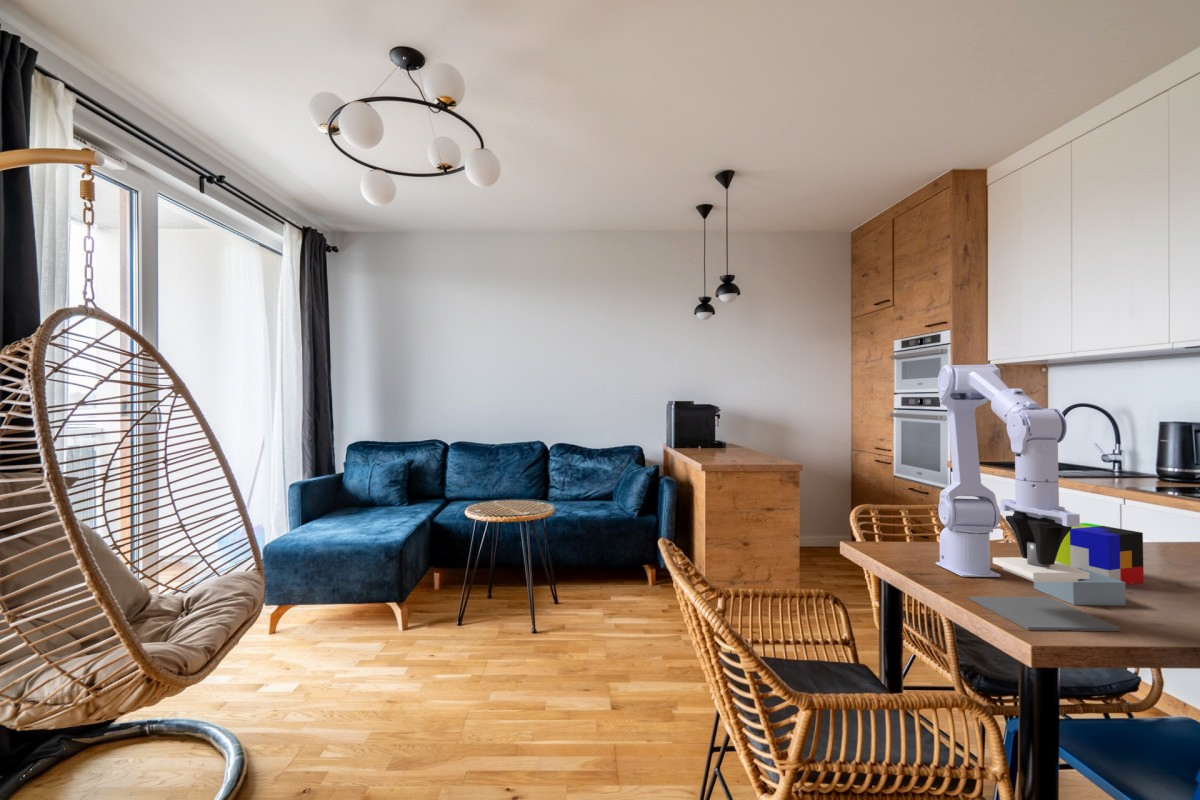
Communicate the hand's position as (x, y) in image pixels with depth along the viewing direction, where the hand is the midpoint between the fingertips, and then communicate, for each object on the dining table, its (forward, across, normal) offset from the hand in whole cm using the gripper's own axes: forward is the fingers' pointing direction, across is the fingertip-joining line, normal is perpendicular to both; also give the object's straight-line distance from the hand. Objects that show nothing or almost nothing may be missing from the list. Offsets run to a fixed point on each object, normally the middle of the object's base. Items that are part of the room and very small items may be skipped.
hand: (1038, 561), depth 92 cm
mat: (+9, 0, 0) cm, 9 cm away
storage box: (+9, +9, -14) cm, 19 cm away
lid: (+2, 0, 0) cm, 2 cm away
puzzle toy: (+9, +21, -28) cm, 36 cm away
